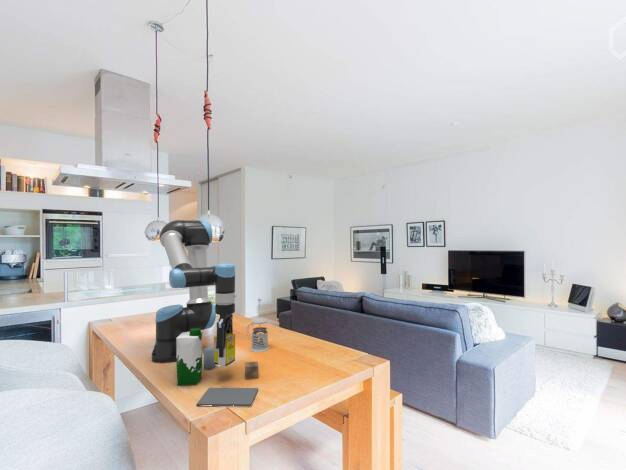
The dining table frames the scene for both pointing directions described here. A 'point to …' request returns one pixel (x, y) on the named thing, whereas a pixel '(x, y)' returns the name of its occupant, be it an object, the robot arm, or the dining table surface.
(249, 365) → the walnut block
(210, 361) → the slate-blue pebble
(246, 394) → the charcoal mat
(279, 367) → the dining table surface
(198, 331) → the soya milk
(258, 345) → the grey wire-handled lantern
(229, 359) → the supplement box
